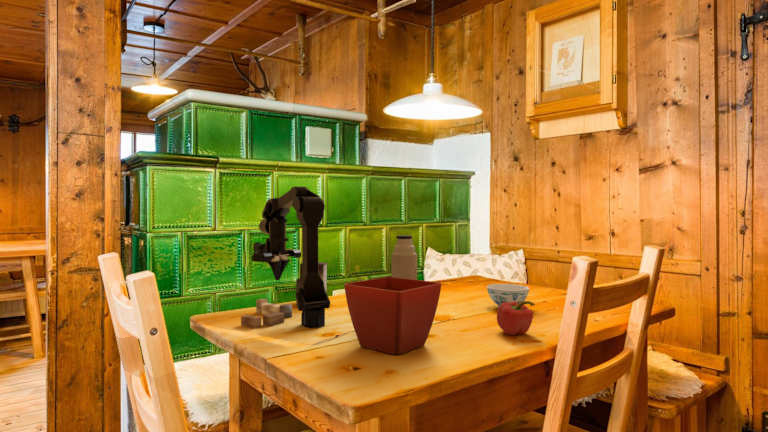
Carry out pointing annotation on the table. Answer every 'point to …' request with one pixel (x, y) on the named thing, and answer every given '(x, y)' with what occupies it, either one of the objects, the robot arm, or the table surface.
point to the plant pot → (392, 312)
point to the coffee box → (320, 273)
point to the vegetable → (514, 317)
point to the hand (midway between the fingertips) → (277, 280)
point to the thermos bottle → (404, 258)
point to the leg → (273, 308)
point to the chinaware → (507, 293)
